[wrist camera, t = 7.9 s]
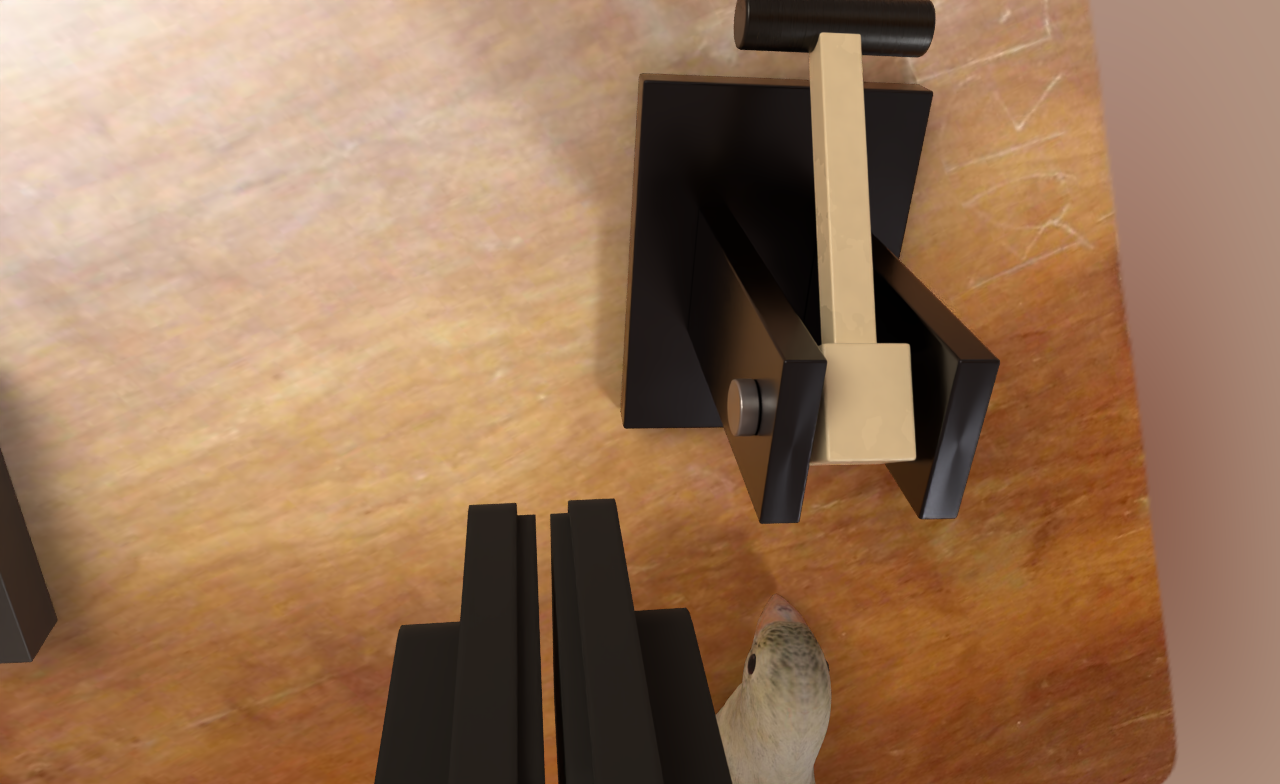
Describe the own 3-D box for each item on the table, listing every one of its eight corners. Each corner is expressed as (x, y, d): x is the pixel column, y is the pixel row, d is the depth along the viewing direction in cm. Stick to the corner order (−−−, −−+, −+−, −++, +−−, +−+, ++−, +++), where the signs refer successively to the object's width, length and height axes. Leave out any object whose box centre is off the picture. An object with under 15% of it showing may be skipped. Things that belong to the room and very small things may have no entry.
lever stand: (638, 72, 28) (709, 185, 18) (919, 83, 29) (1139, 195, 19) (620, 412, 34) (665, 646, 23) (855, 410, 35) (995, 631, 25)
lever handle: (727, 17, 25) (749, -34, 22) (904, 25, 25) (943, -23, 23) (743, 466, 23) (768, 463, 21) (929, 463, 24) (974, 459, 22)
